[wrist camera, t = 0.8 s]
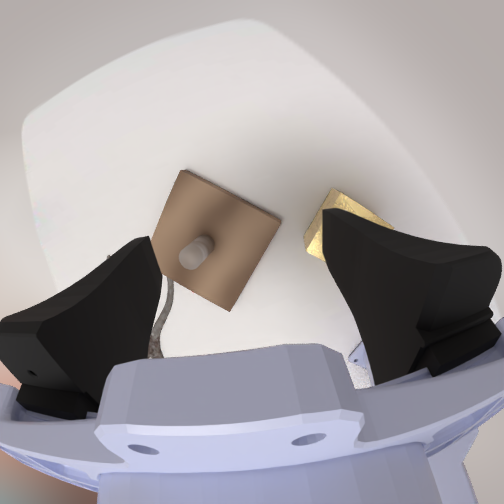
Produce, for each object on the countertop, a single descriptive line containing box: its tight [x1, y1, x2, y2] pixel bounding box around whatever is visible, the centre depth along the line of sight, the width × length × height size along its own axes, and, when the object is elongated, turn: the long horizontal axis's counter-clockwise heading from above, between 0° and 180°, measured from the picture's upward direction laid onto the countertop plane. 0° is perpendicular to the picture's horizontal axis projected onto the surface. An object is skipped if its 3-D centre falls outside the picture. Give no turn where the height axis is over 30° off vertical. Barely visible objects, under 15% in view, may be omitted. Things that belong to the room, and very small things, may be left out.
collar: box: [304, 188, 394, 262], centre depth 24 cm, size 6×6×5 cm
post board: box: [151, 170, 281, 312], centre depth 26 cm, size 11×11×6 cm
